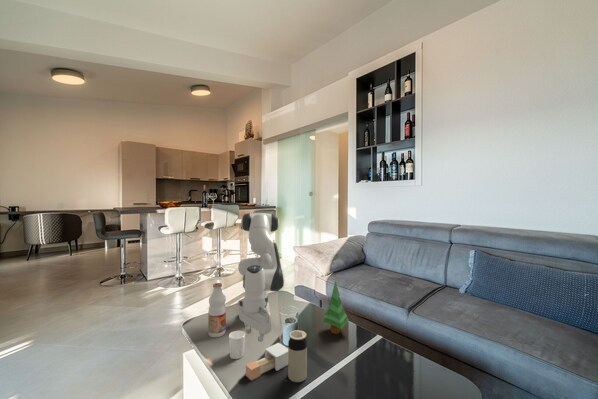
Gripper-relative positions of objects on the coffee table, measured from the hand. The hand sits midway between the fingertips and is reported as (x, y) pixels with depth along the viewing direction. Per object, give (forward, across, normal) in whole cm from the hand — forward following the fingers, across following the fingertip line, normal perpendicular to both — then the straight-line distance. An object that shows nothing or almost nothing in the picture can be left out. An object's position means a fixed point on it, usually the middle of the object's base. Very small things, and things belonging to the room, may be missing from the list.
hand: (254, 336), depth 112 cm
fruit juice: (+16, +44, -4) cm, 47 cm away
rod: (+17, 0, -11) cm, 20 cm away
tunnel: (+16, 0, -13) cm, 21 cm away
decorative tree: (+16, 0, -55) cm, 58 cm away
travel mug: (+17, -13, -13) cm, 25 cm away
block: (+17, 0, 0) cm, 17 cm away
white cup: (+16, +18, -2) cm, 25 cm away
